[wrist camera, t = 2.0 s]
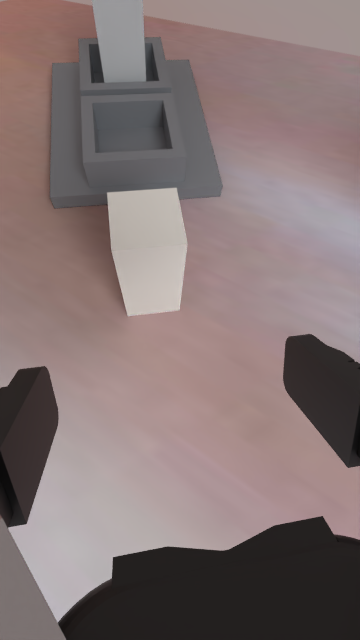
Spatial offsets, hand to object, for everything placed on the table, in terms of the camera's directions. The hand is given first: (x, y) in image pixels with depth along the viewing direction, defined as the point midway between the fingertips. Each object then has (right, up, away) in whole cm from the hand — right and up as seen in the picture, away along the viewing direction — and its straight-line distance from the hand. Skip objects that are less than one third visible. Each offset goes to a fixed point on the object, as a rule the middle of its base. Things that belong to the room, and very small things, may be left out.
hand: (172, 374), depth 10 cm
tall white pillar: (-3, +5, +19) cm, 20 cm away
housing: (-6, +25, +28) cm, 38 cm away
